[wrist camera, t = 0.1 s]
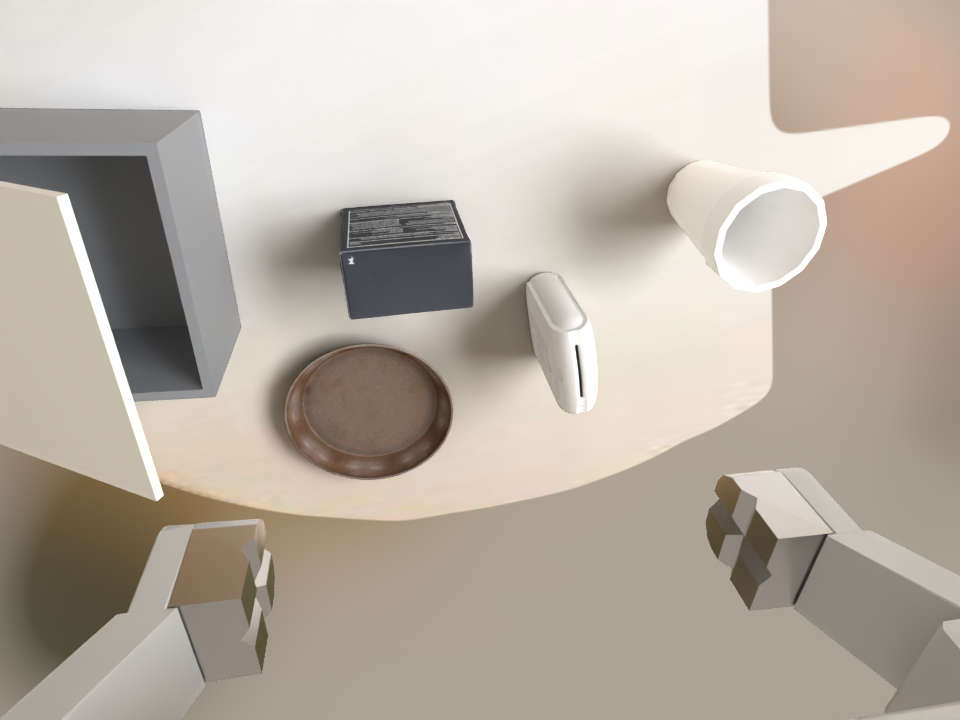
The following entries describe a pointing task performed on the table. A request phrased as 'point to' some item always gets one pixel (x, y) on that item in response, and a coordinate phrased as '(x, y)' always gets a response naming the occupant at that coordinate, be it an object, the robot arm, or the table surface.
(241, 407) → the table surface
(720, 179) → the foam cup
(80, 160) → the carton
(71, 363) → the lid flap
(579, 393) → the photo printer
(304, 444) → the plant saucer
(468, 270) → the small box
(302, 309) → the table surface
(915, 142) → the table surface
